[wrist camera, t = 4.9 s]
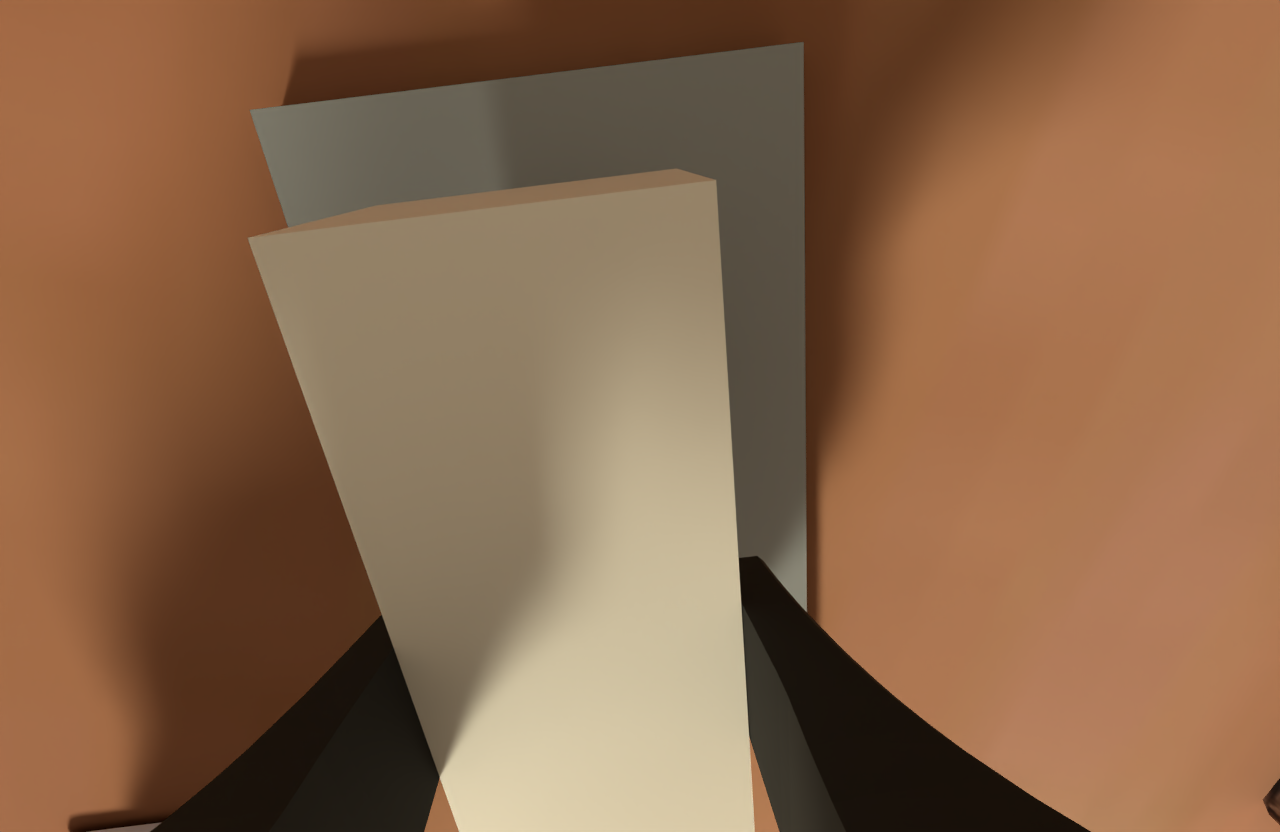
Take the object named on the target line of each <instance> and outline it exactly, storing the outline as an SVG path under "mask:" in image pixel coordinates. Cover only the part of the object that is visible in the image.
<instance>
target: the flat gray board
mask: <svg viewBox="0 0 1280 832" xmlns="http://www.w3.org/2000/svg"><path fill="white" fill-rule="evenodd" d="M250 112H251V115H252V119H253V122H254V125H255V128H256V131H257V134H258V137H259V140H260V143H261V146H262V149H263V152H264V155H265V158H266V161H267V164H268V167H269V170H270V173H271V176H272V179H273V182H274V185H275V189H276V192H277V195H278V198H279V201H280V204H281V207H282V210H283V213H284V216H285V219H286V222H287V225H288V228H289V227H293V226H297V225H301V224H305V223H309V222H313V221H316V220H320V219H324V218H328V217H332V216H336V215H340V214H344V213H348V212H352V211H356V210H360V209H364V208H368V207H372V206H376V205H384V204H392V203H401V202H409V201H417V200H425V199H433V198H441V197H449V196H457V195H465V194H474V193H482V192H490V191H498V190H506V189H514V188H522V187H530V186H538V185H547V184H555V183H563V182H571V181H579V180H587V179H595V178H603V177H612V176H620V175H628V174H636V173H644V172H652V171H660V170H668V169H680V170H684V171H687V172H690V173H694V174H697V175H701V176H704V177H707V178H711V179H714V180H716V186H717V203H718V220H719V237H720V254H721V270H722V287H723V304H724V321H725V338H726V355H727V372H728V389H729V406H730V422H731V439H732V456H733V473H734V490H735V507H736V524H737V541H738V558H743V557H751V556H758V557H759V558H761V559H762V560H763V561H764V562H765V563H766V565H767V566H768V567H769V569H770V570H771V571H772V572H773V574H774V575H775V576H776V577H777V579H778V580H779V581H780V582H781V583H782V585H783V586H784V587H785V588H786V589H787V591H788V592H789V593H790V594H791V595H792V596H793V597H794V599H795V600H796V601H797V602H798V603H799V604H800V605H801V607H802V608H803V609H804V610H805V611H806V612H807V547H806V368H805V189H804V42H799V43H791V44H783V45H774V46H766V47H758V48H750V49H742V50H734V51H726V52H717V53H709V54H701V55H693V56H685V57H677V58H669V59H661V60H652V61H644V62H636V63H628V64H620V65H612V66H604V67H596V68H587V69H579V70H571V71H563V72H555V73H547V74H539V75H531V76H522V77H514V78H506V79H498V80H490V81H482V82H474V83H465V84H457V85H449V86H441V87H433V88H425V89H417V90H409V91H400V92H392V93H384V94H376V95H368V96H360V97H352V98H344V99H335V100H327V101H319V102H311V103H303V104H295V105H287V106H279V107H270V108H262V109H254V110H250Z"/></svg>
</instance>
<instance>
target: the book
mask: <svg viewBox="0 0 1280 832" xmlns="http://www.w3.org/2000/svg"><path fill="white" fill-rule="evenodd" d="M1263 801H1264V804H1265V806H1266V808H1267V811H1268V813H1269V815H1270V816H1271V817H1272V818H1273V819H1274V820H1275V821H1276V822H1277V823H1278V824H1279V825H1280V779H1279V780H1278V781H1277V783H1276V784H1275V785H1274V786H1273V788H1272V789H1271V790H1270V791H1269V793H1268V794H1267V795H1266V796H1265V798H1264V799H1263Z"/></svg>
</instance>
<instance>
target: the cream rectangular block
mask: <svg viewBox="0 0 1280 832" xmlns="http://www.w3.org/2000/svg"><path fill="white" fill-rule="evenodd" d="M248 241H249V243H250V246H251V249H252V252H253V255H254V258H255V260H256V263H257V266H258V269H259V272H260V274H261V277H262V280H263V283H264V286H265V288H266V291H267V294H268V297H269V300H270V302H271V305H272V308H273V311H274V314H275V316H276V319H277V322H278V325H279V328H280V330H281V333H282V336H283V339H284V342H285V344H286V347H287V350H288V353H289V356H290V358H291V361H292V364H293V367H294V370H295V373H296V375H297V378H298V381H299V384H300V387H301V389H302V392H303V395H304V398H305V401H306V403H307V406H308V409H309V412H310V415H311V417H312V420H313V423H314V426H315V429H316V431H317V434H318V437H319V440H320V443H321V445H322V448H323V451H324V454H325V457H326V459H327V462H328V465H329V468H330V471H331V473H332V476H333V479H334V482H335V485H336V488H337V490H338V493H339V496H340V499H341V502H342V504H343V507H344V510H345V513H346V516H347V518H348V521H349V524H350V527H351V530H352V532H353V535H354V538H355V541H356V544H357V546H358V549H359V552H360V555H361V558H362V560H363V563H364V566H365V569H366V572H367V574H368V577H369V580H370V583H371V586H372V589H373V591H374V594H375V597H376V600H377V603H378V605H379V608H380V611H381V614H382V617H383V619H384V622H385V625H386V628H387V631H388V633H389V636H390V639H391V642H392V645H393V647H394V650H395V653H396V656H397V659H398V661H399V664H400V667H401V670H402V673H403V675H404V678H405V681H406V684H407V687H408V689H409V692H410V695H411V698H412V701H413V704H414V706H415V709H416V712H417V715H418V718H419V720H420V723H421V726H422V729H423V732H424V734H425V737H426V740H427V743H428V746H429V748H430V751H431V754H432V757H433V760H434V762H435V765H436V768H437V771H438V774H439V776H440V779H441V782H442V785H443V788H444V790H445V793H446V796H447V799H448V802H449V804H450V807H451V810H452V813H453V816H454V819H455V821H456V824H457V827H458V830H459V832H755V828H754V811H753V794H752V777H751V760H750V743H749V726H748V710H747V693H746V676H745V659H744V642H743V625H742V608H741V591H740V574H739V558H738V541H737V524H736V507H735V490H734V473H733V456H732V439H731V422H730V406H729V389H728V372H727V355H726V338H725V321H724V304H723V287H722V270H721V254H720V237H719V220H718V203H717V186H716V180H714V179H711V178H707V177H704V176H701V175H697V174H694V173H690V172H687V171H684V170H680V169H668V170H660V171H652V172H644V173H636V174H628V175H620V176H612V177H603V178H595V179H587V180H579V181H571V182H563V183H555V184H547V185H538V186H530V187H522V188H514V189H506V190H498V191H490V192H482V193H474V194H465V195H457V196H449V197H441V198H433V199H425V200H417V201H409V202H401V203H392V204H384V205H376V206H372V207H368V208H364V209H360V210H356V211H352V212H348V213H344V214H340V215H336V216H332V217H328V218H324V219H320V220H316V221H313V222H309V223H305V224H301V225H297V226H293V227H289V228H285V229H281V230H277V231H273V232H269V233H265V234H261V235H257V236H253V237H249V238H248Z"/></svg>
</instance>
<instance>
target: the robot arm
mask: <svg viewBox="0 0 1280 832" xmlns="http://www.w3.org/2000/svg"><path fill="white" fill-rule="evenodd" d="M739 574H740V591H741V608H742V625H743V642H744V659H745V676H746V693H747V710H748V726H749V737H750V740H751V743H752V746H753V749H754V753H755V756H756V759H757V762H758V765H759V768H760V771H761V775H762V778H763V781H764V784H765V787H766V790H767V793H768V797H769V800H770V803H771V806H772V809H773V812H774V816H775V819H776V822H777V825H778V828H779V831H780V832H1091V831H1089V830H1087V829H1086V828H1084V827H1082V826H1081V825H1079V824H1077V823H1076V822H1074V821H1072V820H1071V819H1069V818H1067V817H1066V816H1064V815H1062V814H1061V813H1059V812H1057V811H1056V810H1054V809H1052V808H1051V807H1049V806H1047V805H1046V804H1044V803H1042V802H1041V801H1039V800H1037V799H1036V798H1034V797H1033V796H1031V795H1030V794H1028V793H1027V792H1025V791H1024V790H1022V789H1021V788H1019V787H1018V786H1016V785H1015V784H1013V783H1012V782H1010V781H1009V780H1007V779H1006V778H1004V777H1003V776H1001V775H1000V774H998V773H997V772H995V771H994V770H992V769H991V768H989V767H988V766H986V765H985V764H984V763H982V762H981V761H979V760H978V759H976V758H975V757H973V756H972V755H970V754H969V753H967V752H966V751H964V750H963V749H962V748H960V747H959V746H957V745H956V744H955V743H953V742H952V741H951V740H949V739H948V738H947V737H945V736H944V735H943V734H941V733H940V732H939V731H937V730H936V729H935V728H933V727H932V726H931V725H929V724H928V723H927V722H926V721H924V720H923V719H922V718H921V717H919V716H918V715H917V714H916V713H914V712H913V711H912V710H911V709H909V708H908V707H907V706H906V705H904V704H903V703H902V702H901V701H900V700H898V699H897V698H896V697H895V696H894V695H892V694H891V693H890V692H889V691H888V690H887V689H885V688H884V687H883V686H882V685H881V684H880V683H879V682H877V681H876V680H875V679H874V678H873V677H872V676H871V675H870V674H869V673H867V672H866V671H865V670H864V669H863V668H862V667H861V666H860V665H859V664H858V663H857V662H856V661H854V660H853V659H852V658H851V657H850V656H849V655H848V654H847V653H846V652H845V651H844V650H843V649H842V648H841V647H840V646H839V645H838V644H837V643H836V642H835V641H834V640H833V639H832V638H831V637H830V636H829V635H828V634H827V633H826V632H825V631H824V630H823V629H822V628H821V627H820V626H819V625H818V624H817V623H816V622H815V621H814V620H813V618H812V617H811V616H810V615H809V614H808V613H807V612H806V611H805V610H804V609H803V608H802V607H801V605H800V604H799V603H798V602H797V601H796V600H795V599H794V597H793V596H792V595H791V594H790V593H789V592H788V591H787V589H786V588H785V587H784V586H783V585H782V583H781V582H780V581H779V580H778V579H777V577H776V576H775V575H774V574H773V572H772V571H771V570H770V569H769V567H768V566H767V565H766V563H765V562H764V561H763V560H762V559H761V558H759V557H758V556H751V557H743V558H739ZM439 778H440V776H439V774H438V771H437V768H436V765H435V762H434V760H433V757H432V754H431V751H430V748H429V746H428V743H427V740H426V737H425V734H424V732H423V729H422V726H421V723H420V720H419V718H418V715H417V712H416V709H415V706H414V704H413V701H412V698H411V695H410V692H409V689H408V687H407V684H406V681H405V678H404V675H403V673H402V670H401V667H400V664H399V661H398V659H397V656H396V653H395V650H394V647H393V645H392V642H391V639H390V636H389V633H388V631H387V628H386V625H385V622H384V619H383V617H382V615H381V616H380V617H379V618H378V619H377V620H376V621H375V622H374V623H373V624H372V625H371V626H370V627H369V629H368V630H367V631H366V632H365V633H364V634H363V635H362V636H361V637H360V638H359V639H358V640H357V641H356V642H355V643H354V644H353V645H352V646H351V647H350V649H349V650H348V651H347V652H346V653H345V654H344V655H343V656H342V657H341V658H340V659H339V660H338V661H337V662H336V663H335V664H334V665H333V666H332V667H331V668H330V669H329V670H328V671H327V672H326V673H325V674H324V675H323V676H322V678H321V679H320V680H319V681H318V682H317V683H316V684H315V685H314V686H313V687H312V688H311V689H310V690H309V691H308V692H307V693H306V694H305V695H304V696H303V697H302V698H301V699H300V700H299V701H298V702H297V703H296V704H295V705H294V706H293V707H291V708H290V709H289V710H288V711H287V712H286V713H285V714H284V715H283V716H282V717H281V718H280V719H279V720H278V721H277V722H276V723H275V724H274V725H273V726H272V727H271V728H270V729H268V730H267V731H266V732H265V733H264V734H263V735H262V736H261V737H260V738H259V739H258V740H257V741H256V742H255V743H254V744H253V745H252V746H251V747H250V748H249V749H248V750H246V751H245V752H244V753H243V754H242V755H241V756H240V757H239V758H238V759H236V760H235V761H234V762H233V763H232V764H231V765H230V766H229V767H227V768H226V769H225V770H224V771H223V772H222V773H221V774H219V775H218V776H217V777H216V778H215V779H214V780H213V781H211V782H210V783H209V784H208V785H207V786H205V787H204V788H203V789H202V790H201V791H199V792H198V793H197V794H196V795H195V796H193V797H192V798H191V799H190V800H189V801H187V802H186V803H185V804H184V805H183V806H181V807H180V808H179V809H178V810H177V811H175V812H174V813H173V814H172V815H170V816H169V817H168V818H167V819H166V820H164V821H163V822H160V823H152V824H144V825H136V826H128V827H120V828H112V829H104V830H96V831H88V832H424V830H425V827H426V823H427V820H428V816H429V813H430V809H431V806H432V802H433V799H434V795H435V792H436V788H437V785H438V781H439Z"/></svg>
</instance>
